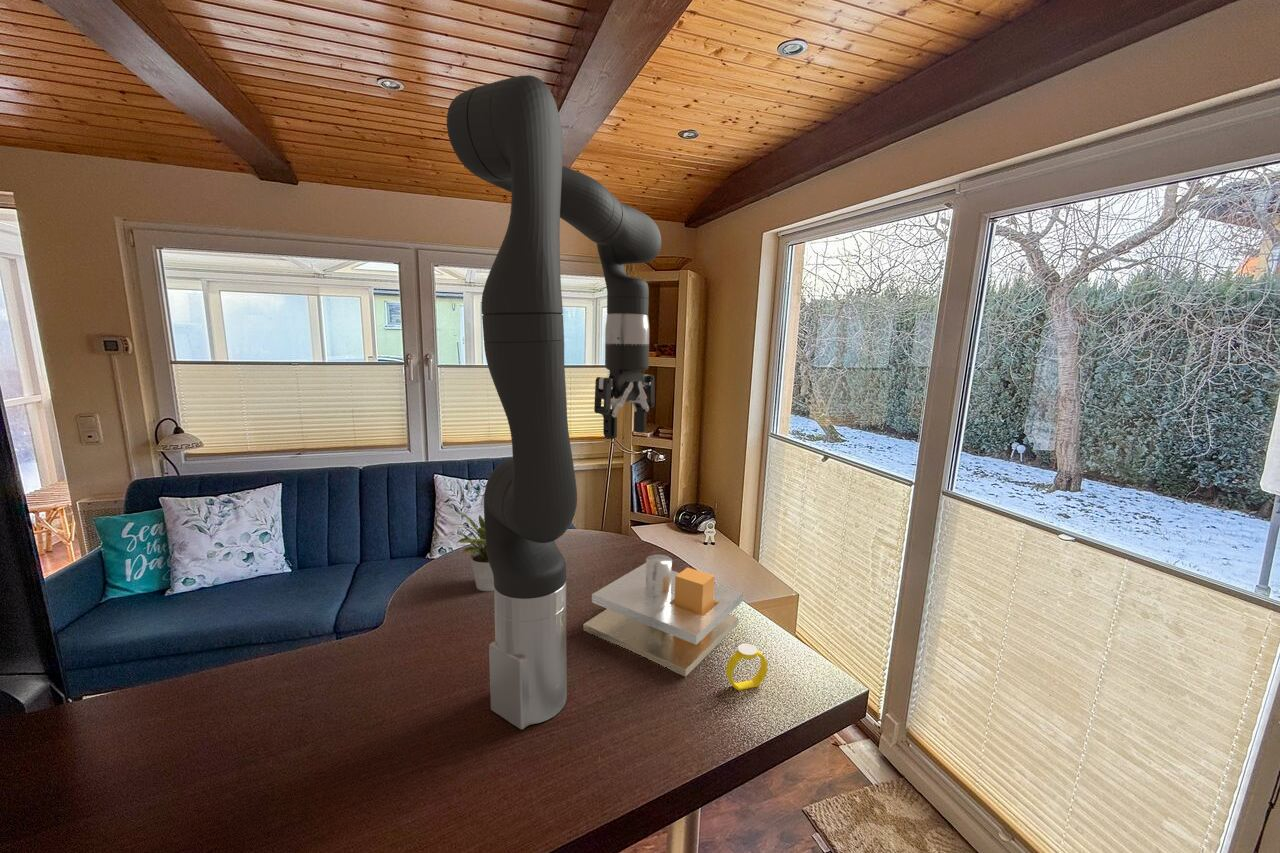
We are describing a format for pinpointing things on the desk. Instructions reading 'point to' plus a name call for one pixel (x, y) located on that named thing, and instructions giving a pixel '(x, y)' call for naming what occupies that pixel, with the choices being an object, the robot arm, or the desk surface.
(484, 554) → the house plant
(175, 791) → the desk surface
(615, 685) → the desk surface
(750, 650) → the watch
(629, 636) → the two-tier square platform
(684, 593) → the orange rectangular prism
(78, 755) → the desk surface
